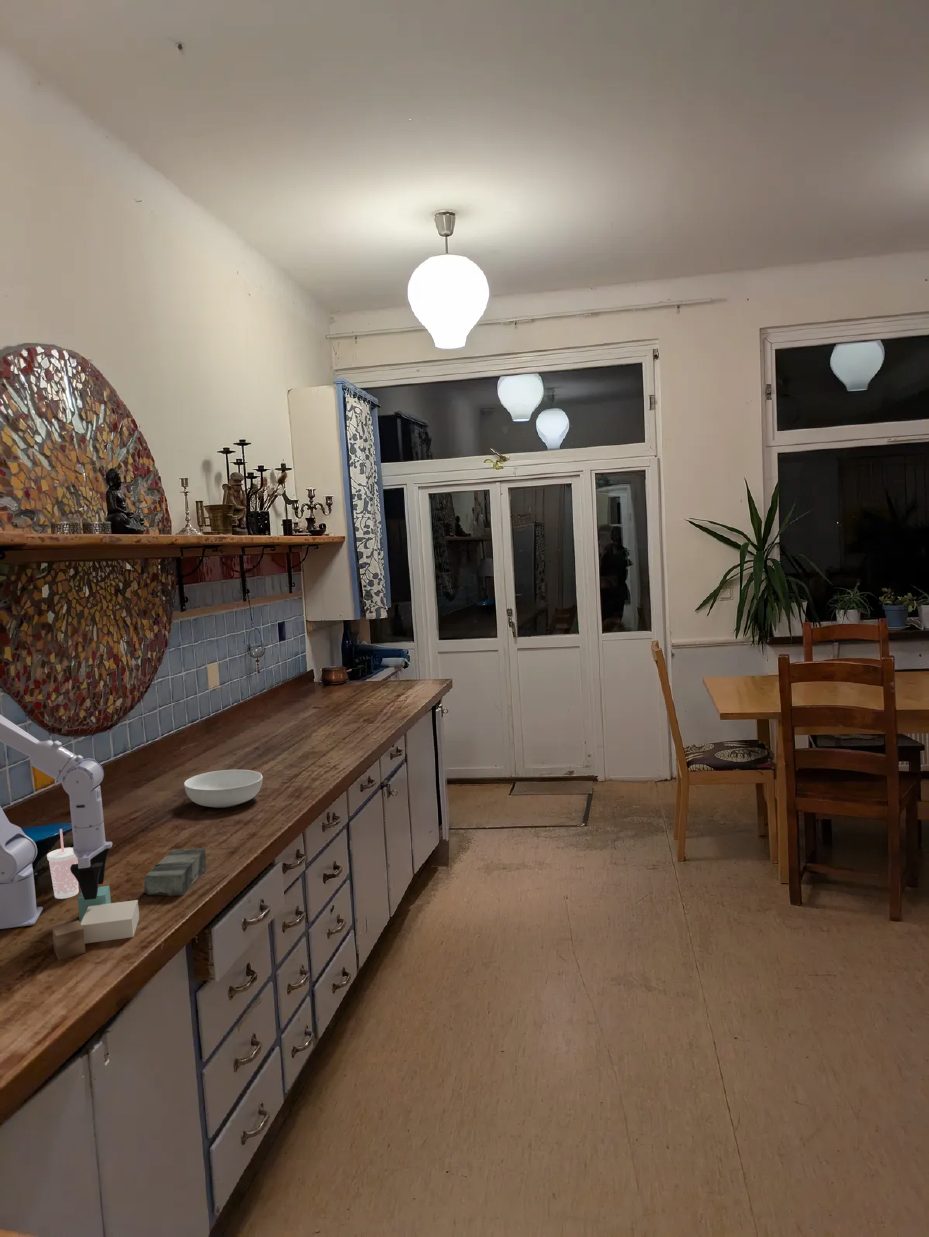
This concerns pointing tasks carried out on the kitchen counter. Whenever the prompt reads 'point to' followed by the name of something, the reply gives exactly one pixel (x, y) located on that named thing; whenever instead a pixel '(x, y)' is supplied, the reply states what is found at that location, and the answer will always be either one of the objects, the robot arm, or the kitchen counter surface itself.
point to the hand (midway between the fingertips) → (94, 891)
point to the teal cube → (93, 900)
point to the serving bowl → (223, 787)
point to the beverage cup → (63, 871)
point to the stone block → (176, 872)
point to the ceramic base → (110, 921)
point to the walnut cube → (68, 939)
